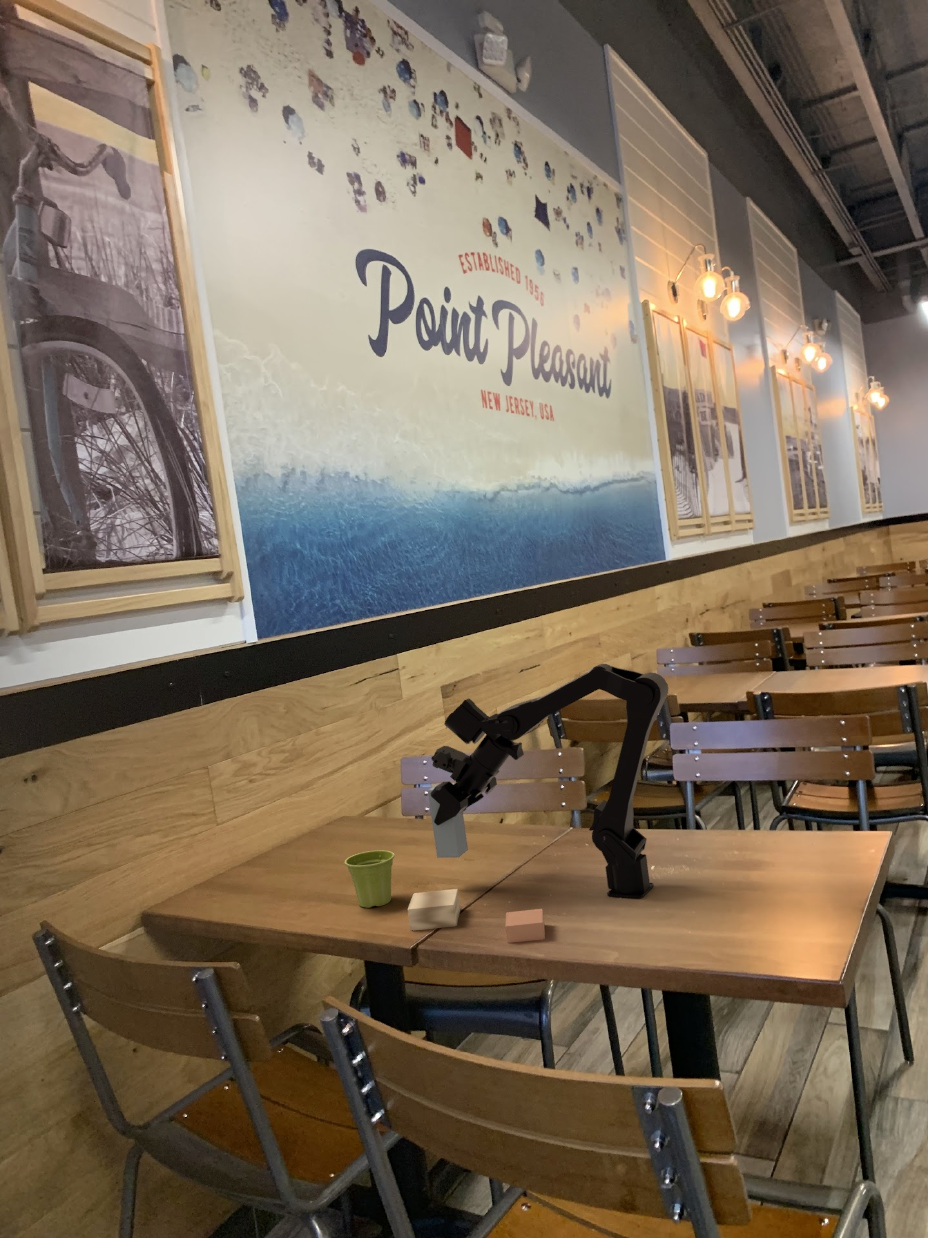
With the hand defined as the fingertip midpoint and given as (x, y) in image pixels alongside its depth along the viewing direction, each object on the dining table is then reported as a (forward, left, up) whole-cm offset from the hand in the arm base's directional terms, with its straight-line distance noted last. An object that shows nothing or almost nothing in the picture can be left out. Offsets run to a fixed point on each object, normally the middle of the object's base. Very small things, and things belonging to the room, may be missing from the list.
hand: (441, 820), depth 177 cm
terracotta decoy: (-25, +16, -14) cm, 33 cm away
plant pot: (+11, +9, -14) cm, 20 cm away
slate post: (-1, 0, -7) cm, 7 cm away
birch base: (-6, +14, -14) cm, 21 cm away
